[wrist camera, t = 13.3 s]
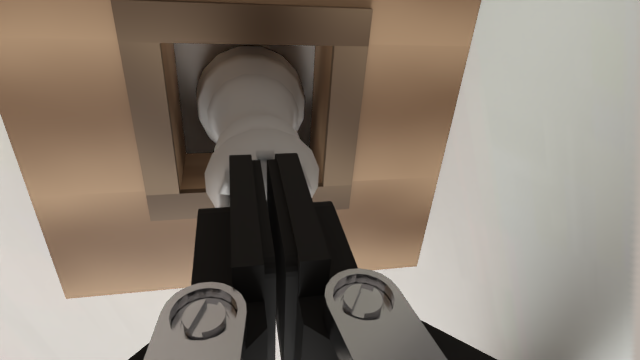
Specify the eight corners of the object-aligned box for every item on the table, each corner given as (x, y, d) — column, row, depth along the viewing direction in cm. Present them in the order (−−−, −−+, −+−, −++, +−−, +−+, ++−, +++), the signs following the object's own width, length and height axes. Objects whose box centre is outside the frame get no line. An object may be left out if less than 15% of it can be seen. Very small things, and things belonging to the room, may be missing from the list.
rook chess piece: (232, 18, 16) (238, 86, 9) (322, 81, 18) (379, 174, 11) (176, 110, 17) (146, 225, 11) (265, 159, 20) (286, 281, 13)
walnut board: (395, 229, 23) (418, 270, 21) (85, 252, 20) (63, 304, 17) (464, -120, 15) (518, -130, 12) (-41, -173, 12) (-119, -202, 9)
